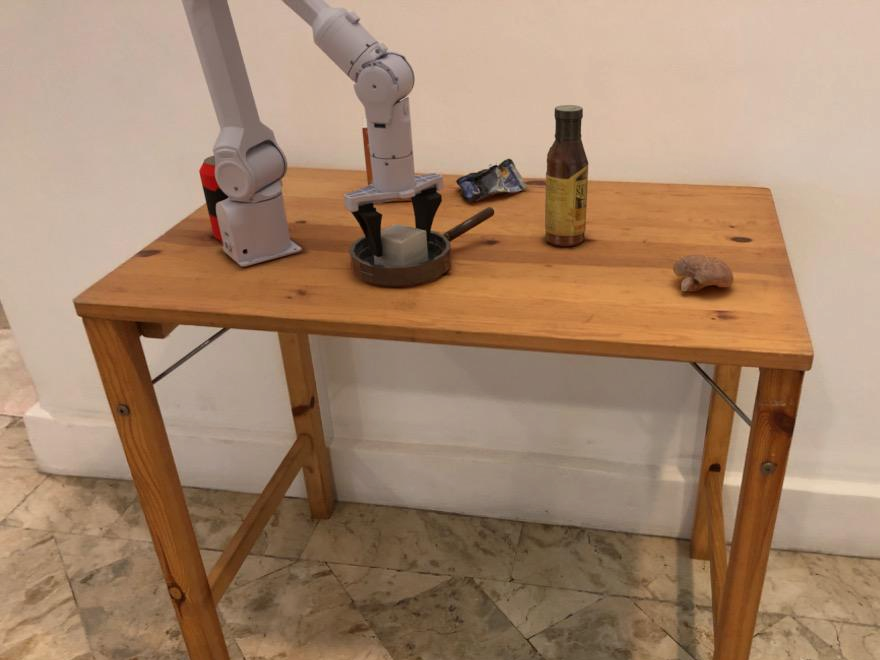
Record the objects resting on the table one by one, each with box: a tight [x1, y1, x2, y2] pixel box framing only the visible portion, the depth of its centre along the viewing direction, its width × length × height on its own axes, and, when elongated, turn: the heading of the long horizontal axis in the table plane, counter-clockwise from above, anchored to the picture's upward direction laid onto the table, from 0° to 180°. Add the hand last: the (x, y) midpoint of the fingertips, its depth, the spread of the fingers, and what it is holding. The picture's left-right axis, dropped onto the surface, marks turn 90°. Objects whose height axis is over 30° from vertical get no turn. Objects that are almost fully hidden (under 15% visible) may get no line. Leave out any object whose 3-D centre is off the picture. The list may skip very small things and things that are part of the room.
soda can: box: [198, 155, 229, 243], centre depth 122 cm, size 8×8×12 cm
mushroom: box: [672, 254, 734, 292], centre depth 107 cm, size 8×6×8 cm
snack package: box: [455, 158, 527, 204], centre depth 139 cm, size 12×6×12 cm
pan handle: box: [442, 206, 495, 243], centre depth 118 cm, size 9×2×4 cm, turn 127°
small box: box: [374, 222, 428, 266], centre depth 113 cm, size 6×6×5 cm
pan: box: [349, 230, 452, 288], centre depth 113 cm, size 14×14×3 cm
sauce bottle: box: [544, 104, 589, 247], centre depth 117 cm, size 6×6×20 cm
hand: (400, 247), depth 113 cm, fingers open, 7 cm apart
